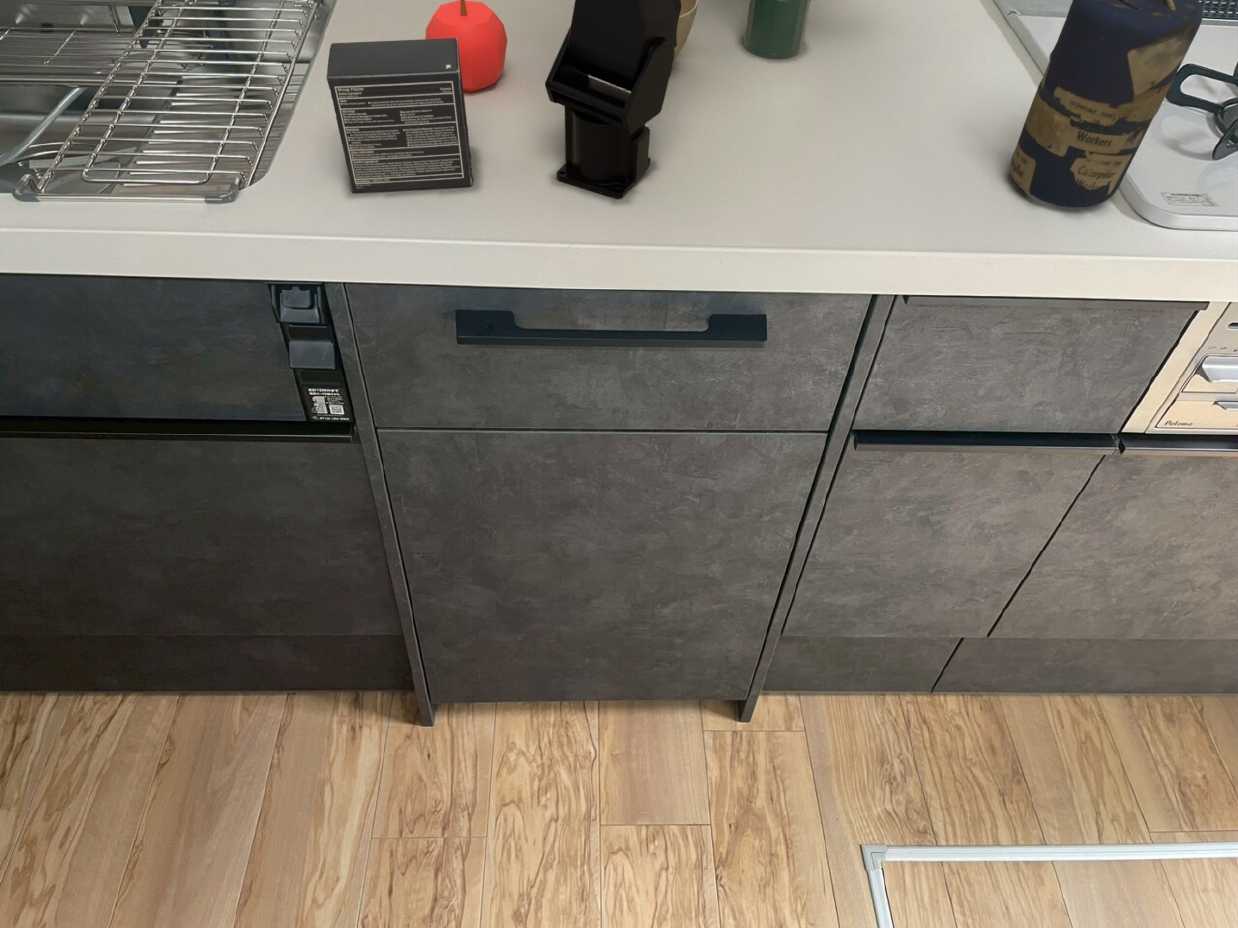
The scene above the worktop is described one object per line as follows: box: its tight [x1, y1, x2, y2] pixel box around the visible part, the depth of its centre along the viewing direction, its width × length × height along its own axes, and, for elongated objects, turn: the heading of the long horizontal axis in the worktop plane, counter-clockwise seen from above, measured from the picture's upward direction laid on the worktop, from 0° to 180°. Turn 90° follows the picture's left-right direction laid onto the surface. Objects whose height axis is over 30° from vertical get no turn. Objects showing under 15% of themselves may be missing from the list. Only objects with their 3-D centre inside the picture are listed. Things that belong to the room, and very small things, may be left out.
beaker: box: [743, 0, 812, 60], centre depth 98 cm, size 6×6×6 cm
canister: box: [1009, 0, 1204, 209], centre depth 78 cm, size 10×10×18 cm
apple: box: [424, 0, 509, 93], centre depth 91 cm, size 8×8×8 cm
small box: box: [325, 38, 474, 194], centre depth 79 cm, size 11×6×10 cm, turn 98°
